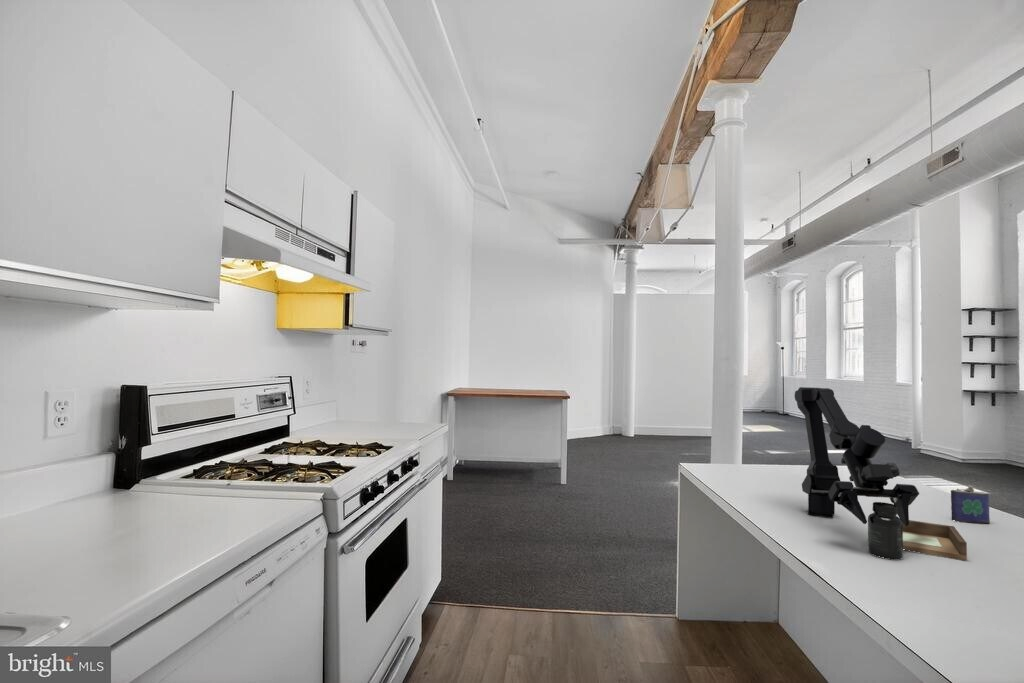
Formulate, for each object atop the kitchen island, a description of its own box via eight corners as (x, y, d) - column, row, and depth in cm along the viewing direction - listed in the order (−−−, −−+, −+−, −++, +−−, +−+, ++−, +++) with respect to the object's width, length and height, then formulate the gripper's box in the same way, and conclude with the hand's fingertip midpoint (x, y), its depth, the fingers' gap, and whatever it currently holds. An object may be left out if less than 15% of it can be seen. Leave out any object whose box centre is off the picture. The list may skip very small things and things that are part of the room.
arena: (883, 546, 129) (882, 529, 129) (878, 531, 142) (878, 515, 142) (966, 560, 121) (966, 542, 121) (954, 542, 134) (953, 526, 134)
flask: (986, 522, 153) (985, 485, 153) (992, 525, 150) (992, 488, 150) (949, 519, 155) (948, 483, 156) (954, 522, 152) (954, 485, 153)
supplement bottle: (891, 550, 127) (890, 501, 127) (910, 561, 120) (909, 509, 121) (862, 549, 128) (861, 500, 128) (878, 559, 121) (878, 507, 121)
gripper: (833, 448, 131) (856, 504, 119) (913, 452, 128) (945, 509, 117) (819, 473, 138) (840, 528, 127) (895, 477, 136) (923, 533, 124)
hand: (886, 524), depth 124 cm, fingers open, 9 cm apart
